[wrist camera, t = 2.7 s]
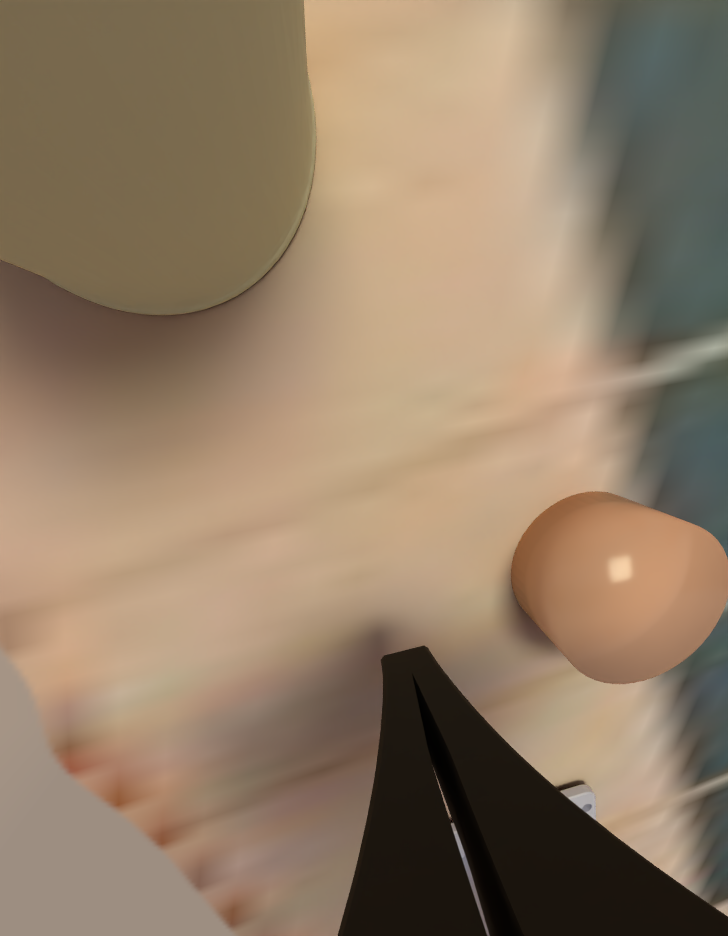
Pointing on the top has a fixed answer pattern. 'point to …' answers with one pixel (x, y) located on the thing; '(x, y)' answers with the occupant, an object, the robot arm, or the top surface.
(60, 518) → the top surface
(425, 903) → the robot arm
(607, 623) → the tan rounded pebble
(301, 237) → the top surface
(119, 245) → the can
